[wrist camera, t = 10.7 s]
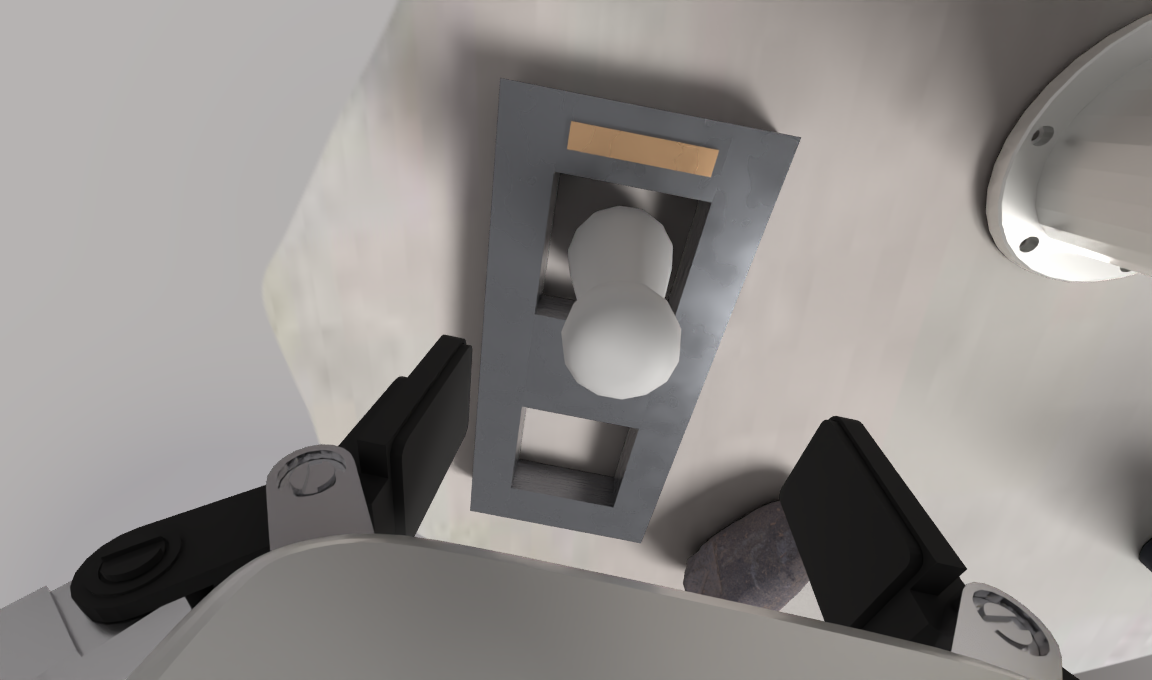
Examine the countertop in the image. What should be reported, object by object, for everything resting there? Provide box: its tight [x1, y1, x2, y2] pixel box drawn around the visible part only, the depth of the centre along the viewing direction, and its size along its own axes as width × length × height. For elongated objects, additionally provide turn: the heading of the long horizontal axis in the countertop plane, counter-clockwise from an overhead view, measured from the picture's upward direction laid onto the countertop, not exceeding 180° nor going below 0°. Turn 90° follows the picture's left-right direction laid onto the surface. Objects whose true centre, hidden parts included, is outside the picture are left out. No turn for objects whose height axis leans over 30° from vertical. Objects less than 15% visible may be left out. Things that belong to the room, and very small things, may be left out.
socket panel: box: [470, 78, 801, 543], centre depth 28 cm, size 14×30×3 cm, turn 170°
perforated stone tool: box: [683, 501, 809, 611], centre depth 34 cm, size 15×5×7 cm, turn 146°
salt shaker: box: [561, 206, 681, 399], centre depth 20 cm, size 6×6×13 cm
